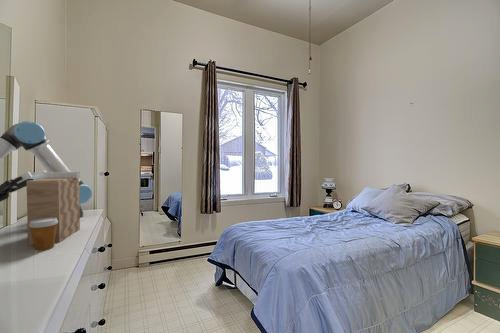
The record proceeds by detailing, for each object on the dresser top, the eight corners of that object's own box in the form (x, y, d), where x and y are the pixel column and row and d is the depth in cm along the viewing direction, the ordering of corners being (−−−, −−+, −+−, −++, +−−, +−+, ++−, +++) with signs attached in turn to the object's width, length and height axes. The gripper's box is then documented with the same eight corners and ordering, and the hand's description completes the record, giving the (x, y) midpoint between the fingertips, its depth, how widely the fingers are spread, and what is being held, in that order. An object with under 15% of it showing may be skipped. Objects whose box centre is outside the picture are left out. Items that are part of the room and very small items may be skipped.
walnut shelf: (53, 231, 130) (52, 177, 129) (80, 229, 133) (79, 177, 132) (27, 244, 108) (26, 180, 108) (59, 242, 111) (58, 180, 111)
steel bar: (29, 178, 124) (29, 172, 124) (79, 177, 129) (79, 171, 129) (25, 178, 120) (25, 172, 120) (76, 178, 126) (76, 172, 126)
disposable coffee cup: (64, 245, 107) (63, 218, 107) (39, 253, 98) (38, 223, 98) (49, 243, 110) (48, 216, 110) (23, 250, 101) (23, 221, 101)
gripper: (16, 198, 131) (56, 178, 136) (-23, 207, 107) (27, 181, 111) (7, 186, 130) (47, 166, 135) (-34, 192, 106) (17, 167, 110)
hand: (38, 173), depth 123 cm, fingers open, 13 cm apart
